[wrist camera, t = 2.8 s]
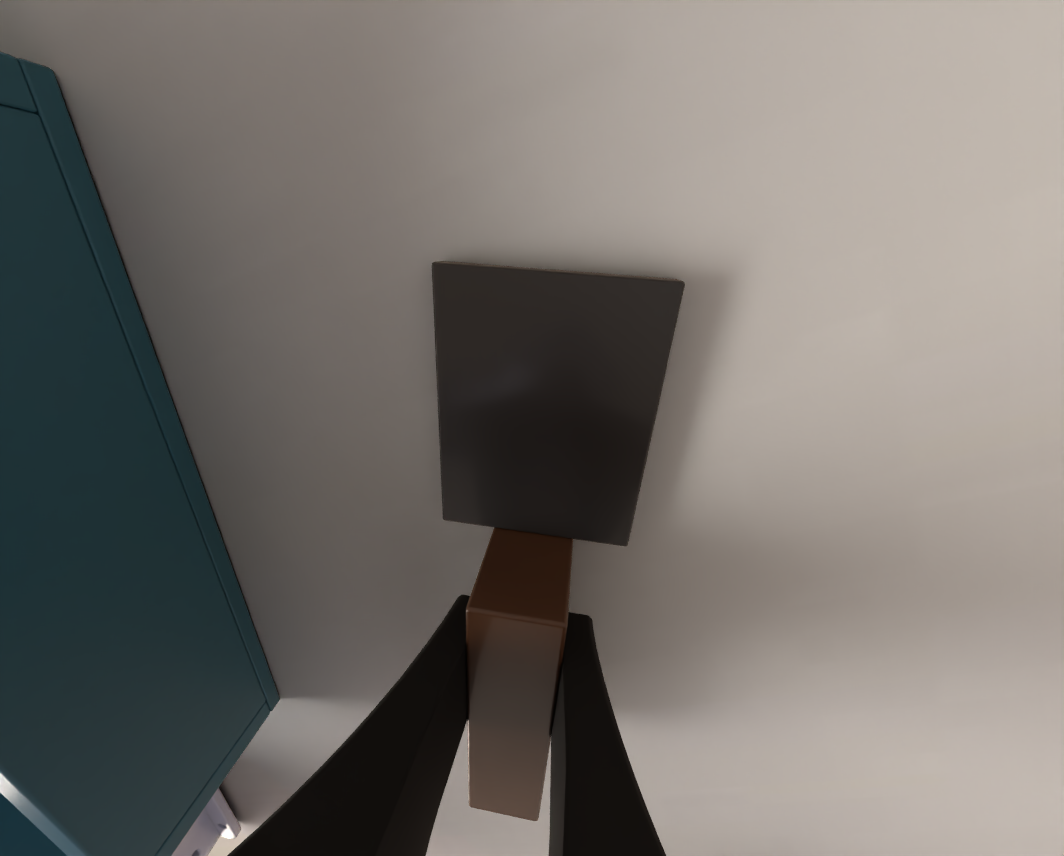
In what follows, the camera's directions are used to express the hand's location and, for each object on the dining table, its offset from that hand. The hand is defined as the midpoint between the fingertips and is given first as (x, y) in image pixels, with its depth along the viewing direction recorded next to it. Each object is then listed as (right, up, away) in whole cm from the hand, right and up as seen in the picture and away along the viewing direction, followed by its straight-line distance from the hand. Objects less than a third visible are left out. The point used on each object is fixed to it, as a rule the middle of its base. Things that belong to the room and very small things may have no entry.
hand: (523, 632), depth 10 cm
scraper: (0, +2, +1) cm, 2 cm away
